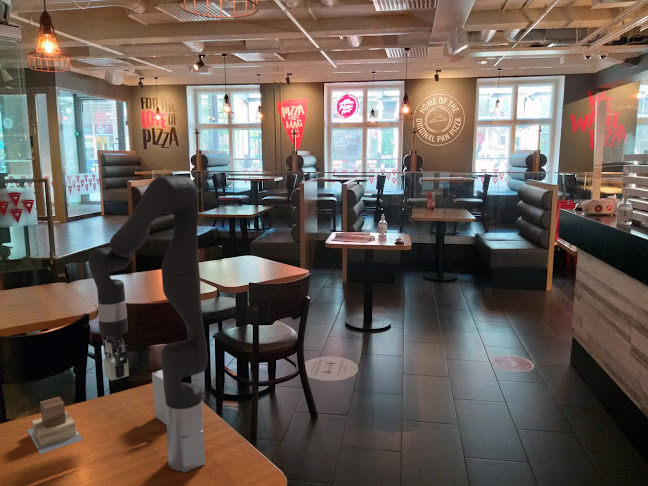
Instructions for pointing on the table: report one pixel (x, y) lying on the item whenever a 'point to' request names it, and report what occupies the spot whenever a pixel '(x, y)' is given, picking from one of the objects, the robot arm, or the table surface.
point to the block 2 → (113, 368)
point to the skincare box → (159, 396)
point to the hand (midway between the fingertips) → (116, 373)
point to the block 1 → (53, 412)
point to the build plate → (54, 445)
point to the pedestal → (53, 431)
